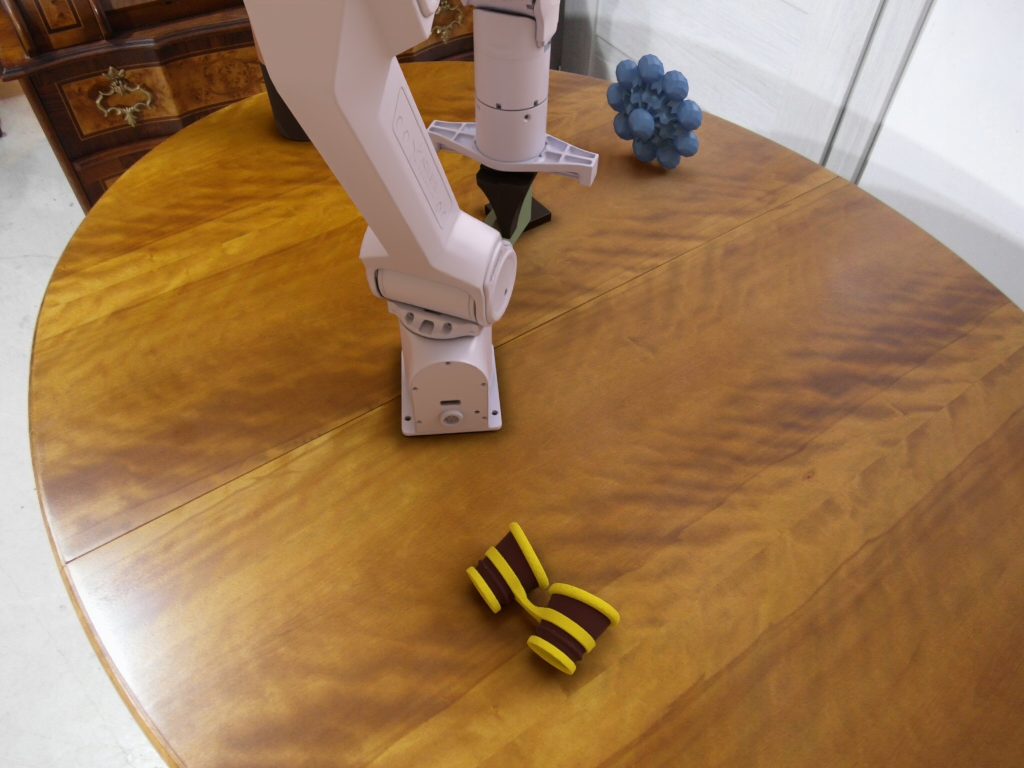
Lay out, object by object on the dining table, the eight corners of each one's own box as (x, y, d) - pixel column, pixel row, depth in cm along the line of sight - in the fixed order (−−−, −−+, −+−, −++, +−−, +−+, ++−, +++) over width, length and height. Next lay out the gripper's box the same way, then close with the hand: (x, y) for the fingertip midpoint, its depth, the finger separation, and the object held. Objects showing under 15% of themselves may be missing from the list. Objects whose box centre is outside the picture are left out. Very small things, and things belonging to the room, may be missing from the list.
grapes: (581, 160, 88) (591, 58, 79) (612, 135, 92) (625, 34, 83) (672, 197, 84) (694, 93, 75) (701, 169, 87) (724, 66, 78)
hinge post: (484, 212, 81) (483, 126, 74) (522, 196, 83) (525, 110, 76) (512, 237, 79) (514, 150, 71) (551, 220, 81) (557, 134, 73)
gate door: (509, 213, 79) (510, 162, 75) (530, 219, 79) (533, 168, 74) (458, 285, 72) (456, 233, 67) (481, 292, 71) (480, 240, 67)
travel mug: (319, 101, 95) (286, -79, 80) (352, 127, 92) (324, -56, 77) (263, 121, 92) (218, -62, 77) (294, 149, 88) (254, -38, 73)
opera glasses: (466, 589, 54) (453, 565, 50) (518, 536, 56) (510, 508, 52) (568, 689, 50) (563, 672, 46) (622, 628, 51) (622, 606, 47)
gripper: (614, 84, 61) (597, 224, 71) (445, 52, 64) (452, 190, 74) (590, 130, 57) (576, 271, 67) (409, 93, 60) (422, 234, 70)
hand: (509, 232), depth 70 cm, fingers closed
